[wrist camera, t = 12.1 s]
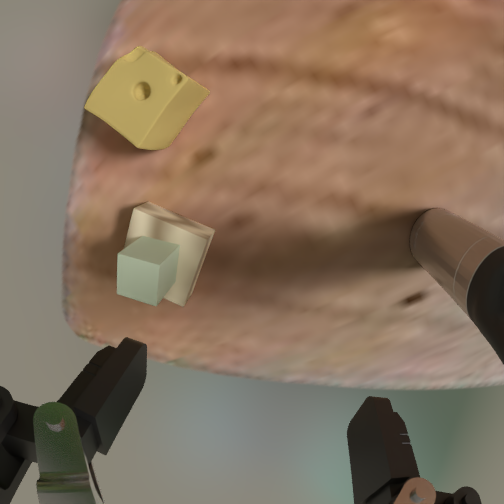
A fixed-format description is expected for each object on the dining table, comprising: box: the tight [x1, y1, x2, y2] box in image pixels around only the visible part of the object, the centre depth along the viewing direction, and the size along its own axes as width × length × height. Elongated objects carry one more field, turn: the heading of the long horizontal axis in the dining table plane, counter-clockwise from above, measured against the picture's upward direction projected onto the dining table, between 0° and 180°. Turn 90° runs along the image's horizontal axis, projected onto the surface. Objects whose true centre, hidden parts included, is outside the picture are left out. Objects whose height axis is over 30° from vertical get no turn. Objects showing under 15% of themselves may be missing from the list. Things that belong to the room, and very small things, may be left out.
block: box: [117, 236, 180, 306], centre depth 37 cm, size 6×6×7 cm
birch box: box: [124, 202, 215, 307], centre depth 43 cm, size 11×11×5 cm
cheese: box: [84, 46, 210, 150], centre depth 33 cm, size 10×11×10 cm
